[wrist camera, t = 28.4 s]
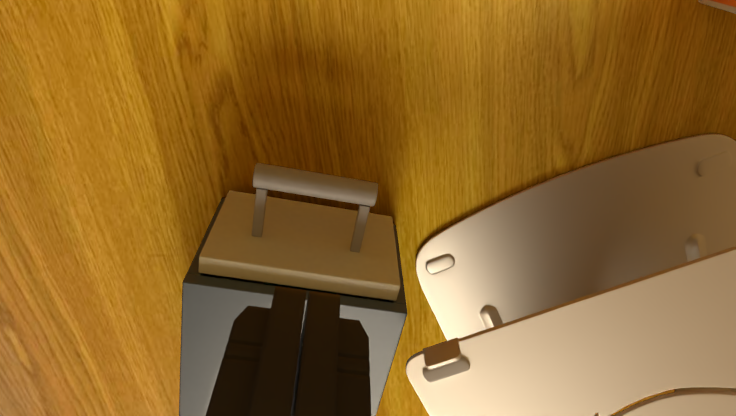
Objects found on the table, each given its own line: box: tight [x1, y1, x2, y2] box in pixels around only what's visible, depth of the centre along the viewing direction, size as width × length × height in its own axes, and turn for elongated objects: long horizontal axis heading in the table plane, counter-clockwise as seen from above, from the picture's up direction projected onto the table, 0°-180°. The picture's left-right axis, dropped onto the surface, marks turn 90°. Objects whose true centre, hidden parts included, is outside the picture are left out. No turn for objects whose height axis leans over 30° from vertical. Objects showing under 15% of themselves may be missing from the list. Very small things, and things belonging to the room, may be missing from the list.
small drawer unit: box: [179, 198, 407, 416], centre depth 37 cm, size 15×13×10 cm
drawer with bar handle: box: [198, 163, 400, 301], centre depth 35 cm, size 18×11×8 cm, turn 169°
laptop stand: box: [406, 134, 736, 416], centre depth 35 cm, size 26×24×16 cm
